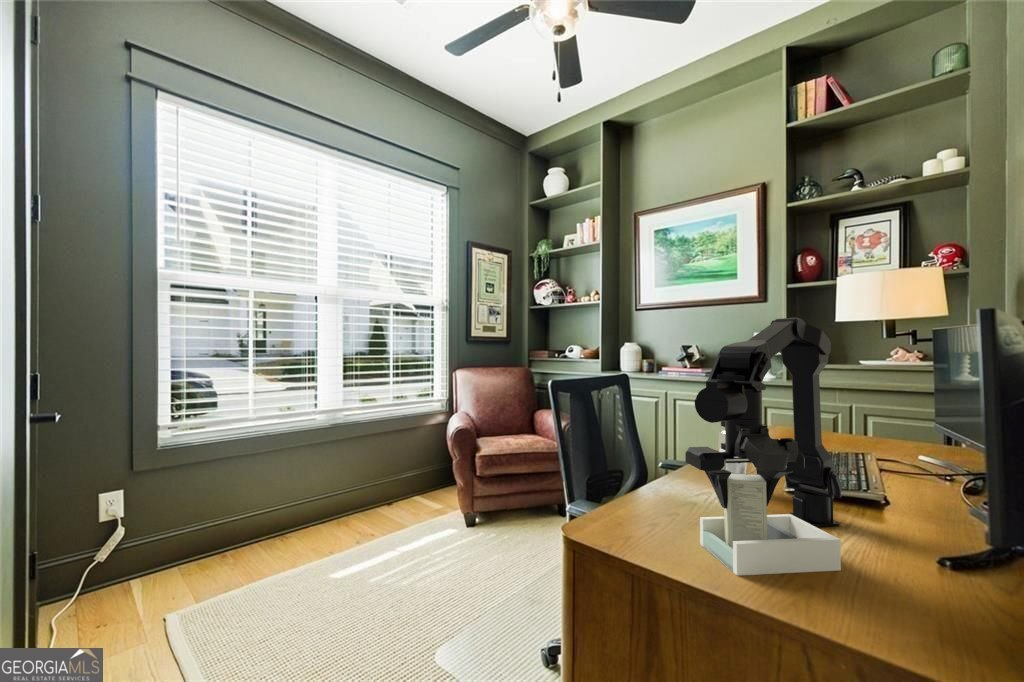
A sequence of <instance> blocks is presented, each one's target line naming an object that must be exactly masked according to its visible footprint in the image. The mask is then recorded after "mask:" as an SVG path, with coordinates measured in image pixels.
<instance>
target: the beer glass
mask: <svg viewBox="0 0 1024 682" xmlns="http://www.w3.org/2000/svg"><path fill="white" fill-rule="evenodd" d="M717 443H718V445H717V446H718V450H717V451H719V452H725V450H723V449H721V443H725V429H721V430H719V431H718V442H717ZM734 458H739V457H734ZM747 467H748V463H726V470H727V471H729V472H731V473H739V474H747Z"/></svg>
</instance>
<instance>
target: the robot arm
mask: <svg viewBox="0 0 1024 682" xmlns="http://www.w3.org/2000/svg"><path fill="white" fill-rule="evenodd" d="M831 348H832V343H831V340H830V338H829V337H828V336H827V334H826V333H825V332H824V331H823V329H821V328H817V327H815V326H813V325H811V324H809V323H806V322H805V320H804V319H802V318H799V317H789V318H787V317H786V318H775V319H773V320H771V322H770V324H769V325H768V326H766V327H765V328H764V329H762V330H761V331H759V332H758V333H756V334H754V335H753V336H752V337H750V338H749V339H748V340H745V341H740V342H732V343H730V344H727V345H724V346H723V347H722V348H721V349H720V350H719V352H718V354H717V356H716V359H715V361H714V363H713V365H712V369H711V370H710V371H711V372H710V374H709V376H708V378H707V380H705V387H704V388H702V389H701V390H699V392H698V393H697V395H696V398H695V399H694V408H695V410H696V413H697V415H698V416H699V417H700V418H701V419H702V420H703V421H705V422H707V423H710V424H711V423H712V424H713V423H720V427H723V428H724V430H725V443H721V449H723V450H725V452H719V451H718V450H716V449H715V448H712V447H709V446H689V447H688V448H687V449H686V451H685V453H684V454H685V455H684V456H685V458H684V459H685V463H686V464H688V465H690V466H692V467H694V468H696V469H698V470H700V471H704V473H705V475H706V476H707V479H708V480H709V482H710V483H711V486H712V488H713V491H714V492H715V495H716V497H717V499H718V501H719V503H720V506H721V507H722V508H723V509H724V508H727V505H728V486H727V479H728V478H729V476H730V475H731V472H729V471H727V470H726V463H747V464H748V463H752V465H753V466H754V468H755V469H756V475H761V476H762V477H763V479H764V480H765V481H766V497H767V507H769V504H770V502H771V499H772V497H773V494H774V492H775V490H776V487H777V485H778V484H779V482H780V480H781V478H783V477H784V478H785V484H786V488H787V489H793V491H794V493H793V494H794V496H792V512H789V513H788V514H791V515H793V516H795V517H797V518H799V519H801V520H803V521H805V522H807V523H809V524H811V525H813V526H815V527H833V526H834V527H837V526H840V525H841V523H840V522H839V521H837V520H835V519H834V499H835V498H837V499H841V498H842V491H843V483H842V482H841V480H840V479H841V478H840V477H839V475H838V473H837V471H836V469H835V468H834V465H833V457H832V456H831V454H830V453H829V451H828V449H826V448H825V446H824V445H823V439H822V437H823V436H822V414H821V412H822V411H821V392H820V391H821V389H820V388H821V387H820V386H821V384H820V375H821V373H822V371H823V370H824V369H825V367H826V366H827V364H828V363H829V355H830V354H831V351H832V349H831ZM779 353H780V354H781V362H782V364H783V366H784V367H785V368H786V369H787V371H788V372H789V374H790V375H791V385H792V386H791V388H792V391H791V393H792V408H793V409H792V411H793V415H792V417H793V438H794V439H793V438H792V437H782V438H780V439H779V438H772V437H771V436H770V433H769V432H770V431H769V430H770V429H769V427H768V425H767V424H763V392H762V391H765V390H766V389H767V386H766V385H765V384H764V382H763V381H764V379H765V377H766V375H767V374H768V372H769V371H770V370H771V368H772V361H771V360H772V358H774V357H775V356H776V355H777V354H779ZM734 457H739V458H734Z"/></svg>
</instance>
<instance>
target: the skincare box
mask: <svg viewBox="0 0 1024 682" xmlns="http://www.w3.org/2000/svg"><path fill="white" fill-rule="evenodd" d="M727 486H728V505H727V508H723V511H724V512H723V513H724V514H723V516H724V528H725V541H726V544H727V545H728V546H730V547H731V548H732V549H733V541H749V540H768V539H767V515H768V509H767V508H768V506H767V497H766V481H765V480H764V479H763V477H762V476H761V475H757V474H754V473H750V474H749V473H746V474H739V473H731V475H730V476H729V478H728V479H727Z"/></svg>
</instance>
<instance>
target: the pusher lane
mask: <svg viewBox="0 0 1024 682" xmlns="http://www.w3.org/2000/svg"><path fill="white" fill-rule="evenodd" d="M767 521H769V522H771V523H773V524H774V525H776V526H778V527H780V528H781V529H783V530H785V531H787V532H788V533H790V534H792V535H794V536H795V537H797V539H774V540H749V541H733V549H732V548H731V547H730V546H728V545H727V544H726V541H725V528H724V515H723V516H700V517H699V544H700V546H701V547H703V548H704V550H706V551H707V552H708V553H709V554H711V555H712V556H713V557H715V559H717V560H718V561H719V562H720V563H722V565H724V566H725V567H726V568H727V569H728V570H730V572H732V573H733V574H734V575H736V576H754V575H756V576H758V575H777V574H778V575H779V574H796V573H815V572H836V571H840V572H841V571H842V567H841V565H842V563H841V561H842V559H841V558H842V556H841V539H840V538H839V537H836V536H834V535H832V534H831V533H828V532H826V531H824V530H823V529H820V528H818V526H813V525H811V524H809V523H807V522H805V521H803V520H801V519H799V518H797V517H795V516H793V515H791V514H789V513H785V514H783V513H781V514H767Z"/></svg>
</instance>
